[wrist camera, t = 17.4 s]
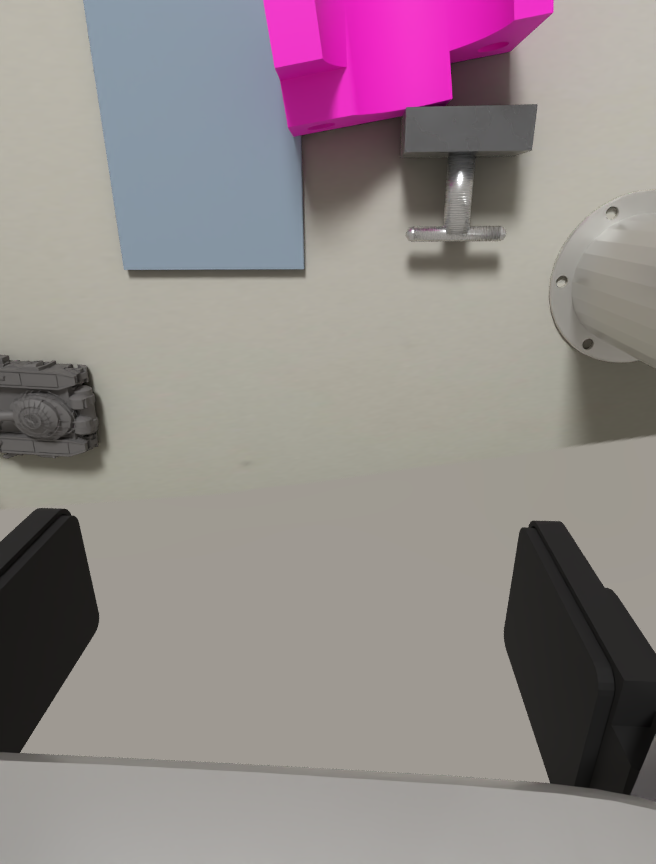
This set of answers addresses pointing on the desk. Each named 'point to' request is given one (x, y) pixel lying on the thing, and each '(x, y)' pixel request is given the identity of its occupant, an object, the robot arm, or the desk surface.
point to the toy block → (383, 53)
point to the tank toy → (45, 409)
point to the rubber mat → (196, 135)
